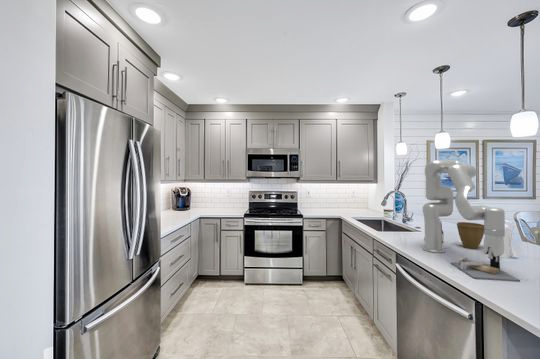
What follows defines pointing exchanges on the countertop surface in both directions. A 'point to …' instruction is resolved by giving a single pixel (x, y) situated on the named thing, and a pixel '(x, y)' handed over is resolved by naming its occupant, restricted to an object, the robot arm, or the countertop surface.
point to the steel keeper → (463, 264)
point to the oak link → (481, 267)
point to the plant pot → (470, 234)
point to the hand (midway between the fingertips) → (494, 268)
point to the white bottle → (508, 243)
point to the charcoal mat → (486, 274)
